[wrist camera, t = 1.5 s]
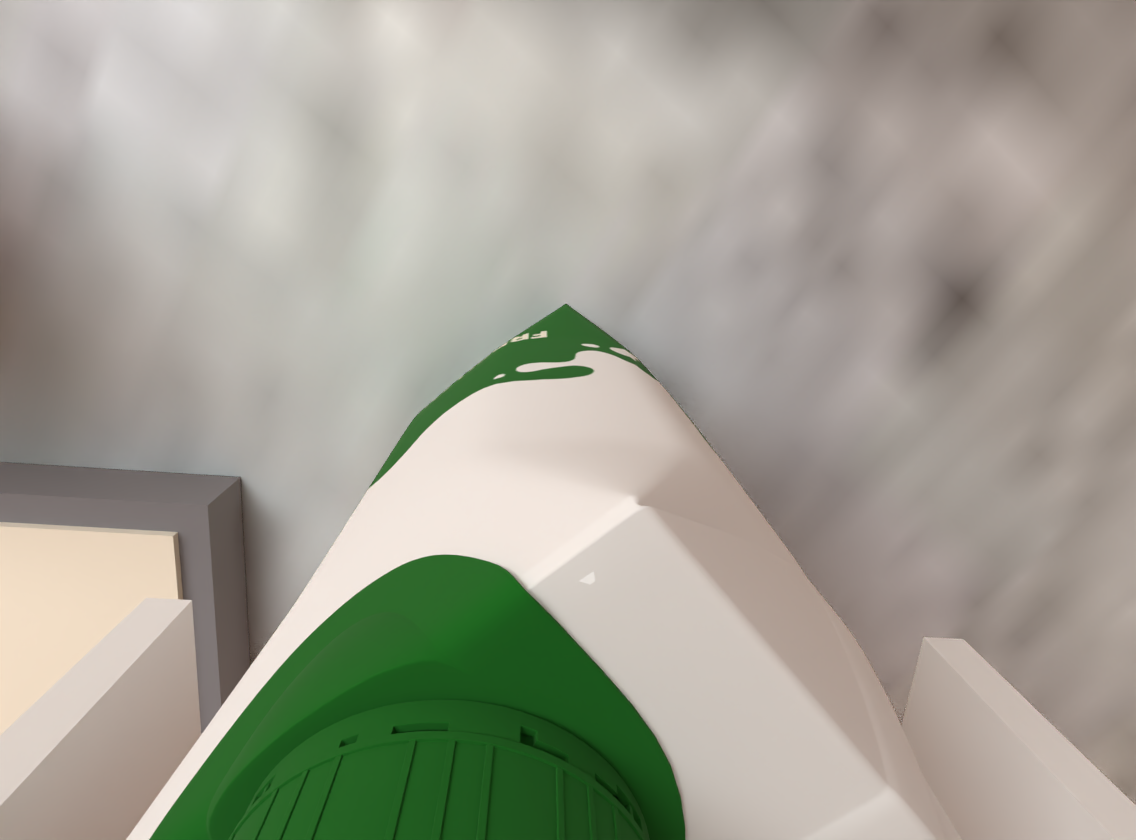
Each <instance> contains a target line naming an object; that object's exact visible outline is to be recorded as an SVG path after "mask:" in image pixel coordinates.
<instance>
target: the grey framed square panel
mask: <svg viewBox="0 0 1136 840" xmlns="http://www.w3.org/2000/svg"><path fill="white" fill-rule="evenodd" d="M145 598H161V599H181V600H192V607H193V622H194V636H195V651H196V665H197V680H198V694H199V709H200V723H201V734H202V733H203V732H204V730H205V729H206V727H207V726H208V725H209V723H210V722H211V720H212V719H213V718H214V716H215V715H216V713H217V712H218V711H219V709H220V708H221V706H222V705H223V704H224V702H225V701H226V699H227V698H228V697H229V695H230V694H231V693H232V691H233V690H234V688H235V687H236V686H237V684H238V683H239V681H240V680H241V679H242V677H243V676H244V674H245V673H246V672H247V670H248V669H249V667H250V653H249V634H248V615H247V596H246V577H245V558H244V539H243V520H242V502H241V483H240V477H230V476H214V475H198V474H182V473H166V472H150V471H134V470H118V469H101V468H85V467H69V466H53V465H37V464H21V463H5V462H0V735H1V734H2V733H3V732H4V731H5V730H6V729H8V728H9V727H10V726H11V725H12V724H13V723H14V722H15V721H16V720H17V719H18V718H19V717H20V716H21V715H22V714H23V713H24V712H26V711H27V710H28V709H29V708H30V707H31V706H32V705H33V704H34V703H35V702H36V701H37V700H38V699H39V698H40V697H41V696H43V695H44V694H45V693H46V692H47V691H48V690H49V689H50V688H51V687H52V686H53V685H54V684H55V683H56V682H57V681H58V680H60V679H61V678H62V677H63V676H64V675H65V674H66V673H67V672H68V671H69V670H70V669H71V668H72V667H73V666H74V665H75V664H76V663H78V662H79V661H80V660H81V659H82V658H83V657H84V656H85V655H86V654H87V653H88V652H89V651H90V650H91V649H92V648H93V647H95V646H96V645H97V644H98V643H99V642H100V641H101V640H102V639H103V638H104V637H105V636H106V635H107V634H108V633H109V632H110V631H111V630H113V629H114V628H115V627H116V626H117V625H118V624H119V623H120V622H121V621H122V620H123V619H124V618H125V617H126V616H127V615H128V614H130V613H131V612H132V611H133V610H134V609H135V608H136V607H137V606H138V605H139V604H140V603H141V602H142V601H143V600H144V599H145ZM200 736H201V735H200ZM198 739H199V738H198Z"/></svg>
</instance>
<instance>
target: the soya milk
mask: <svg viewBox="0 0 1136 840" xmlns="http://www.w3.org/2000/svg"><path fill="white" fill-rule="evenodd" d="M126 840H962V839H961V837H960V836H959V834H958V833H957V831H956V829H955V828H954V826H953V824H952V823H951V821H950V819H949V818H948V816H947V814H946V813H945V811H944V809H943V808H942V806H941V804H940V803H939V801H938V799H937V798H936V796H935V794H934V793H933V791H932V789H931V787H930V786H929V784H928V782H927V780H926V779H925V777H924V775H923V774H922V772H921V770H920V767H919V764H918V762H917V759H916V757H915V755H914V752H913V750H912V748H911V746H910V744H909V741H908V739H907V737H906V735H905V732H904V730H903V728H902V726H901V724H900V721H899V719H898V717H897V715H896V713H895V711H894V709H893V707H892V705H891V703H890V701H889V699H888V697H887V695H886V693H885V691H884V689H883V687H882V685H881V683H880V681H879V679H878V677H877V675H876V674H875V672H874V670H873V668H872V666H871V665H870V663H869V661H868V659H867V657H866V656H865V654H864V652H863V650H862V649H861V647H860V646H859V644H858V643H857V641H856V640H855V638H854V637H853V635H852V634H851V632H850V631H849V629H848V628H847V627H846V625H845V624H844V623H843V622H842V620H841V619H840V618H839V617H838V615H837V614H836V613H835V611H834V610H833V609H832V608H831V606H830V605H829V604H828V603H827V602H826V600H825V599H824V598H823V597H822V595H821V594H820V593H819V592H818V590H817V589H816V588H815V587H814V586H813V584H812V583H811V582H810V581H809V580H808V578H807V577H806V575H805V574H804V572H803V571H802V569H801V568H800V566H799V565H798V563H797V562H796V560H795V559H794V557H793V556H792V554H791V553H790V552H789V550H788V549H787V548H786V546H785V545H784V544H783V542H782V541H781V539H780V538H779V537H778V535H777V534H776V533H775V531H774V530H773V529H772V527H771V526H770V525H769V523H768V522H767V521H766V519H765V518H764V517H763V515H762V514H761V513H760V511H759V510H758V509H757V507H756V506H755V505H754V503H753V502H752V501H751V499H750V498H749V496H748V495H747V494H746V492H745V491H744V490H743V488H742V487H741V486H740V484H739V483H738V482H737V480H736V479H735V478H734V476H733V475H732V474H731V472H730V471H729V470H728V468H727V467H726V466H725V464H724V463H723V462H722V460H721V459H720V458H719V456H718V455H717V454H716V452H715V451H714V450H713V448H712V447H711V446H710V444H709V443H708V442H707V440H706V439H705V438H704V436H703V435H702V434H701V432H700V431H699V430H698V429H697V427H696V426H695V425H694V423H693V422H692V421H691V420H690V418H689V417H688V416H687V415H686V414H685V412H684V411H683V410H682V409H681V407H680V406H679V405H678V404H677V402H676V401H675V400H674V399H673V398H672V396H671V395H670V394H669V393H668V392H667V391H666V390H665V388H664V387H663V386H662V385H661V384H660V383H659V382H658V381H657V380H656V378H655V377H654V376H653V375H652V374H651V373H650V372H649V371H648V370H647V368H646V367H645V366H644V365H643V364H642V363H641V362H640V361H639V360H638V359H637V358H636V357H635V356H634V355H633V354H632V353H631V352H630V351H628V350H627V349H626V348H625V347H623V346H622V345H621V344H620V343H618V342H617V341H616V340H615V339H613V338H612V337H611V336H610V335H608V334H607V333H605V332H604V331H603V330H601V329H600V328H599V327H597V326H596V325H594V324H593V323H592V322H590V321H589V320H588V319H586V318H585V317H583V316H582V315H581V314H579V313H578V312H576V311H575V310H574V309H572V308H571V307H570V306H569V305H567V304H565V305H563V306H562V307H560V308H559V309H557V310H556V311H554V312H553V313H551V314H550V315H548V316H546V317H545V318H543V319H542V320H540V321H539V322H537V323H536V324H534V325H532V326H531V327H529V328H528V329H526V330H525V331H523V332H522V333H520V334H519V335H517V336H515V337H514V338H512V339H511V340H509V341H508V342H506V343H505V344H504V345H502V346H501V347H499V348H498V349H496V350H495V351H493V352H492V353H491V354H490V355H488V356H487V357H486V358H485V359H483V360H482V361H481V362H480V363H478V364H477V365H476V366H474V367H473V368H472V369H471V370H469V371H468V372H467V373H466V374H464V375H463V376H462V377H461V378H459V379H458V380H457V381H456V382H455V383H453V384H452V385H451V386H450V387H449V388H447V389H446V390H445V391H444V392H443V393H442V394H440V395H439V396H438V397H437V398H436V399H435V400H433V401H432V402H431V403H430V404H429V405H428V406H426V407H425V408H424V409H423V410H422V411H421V412H420V413H419V414H418V415H417V416H416V417H415V418H414V419H413V421H412V422H411V423H410V425H409V426H408V428H407V429H406V431H405V432H404V434H403V435H402V437H401V438H400V440H399V441H398V443H397V445H396V446H395V448H394V449H393V451H392V452H391V454H390V456H389V457H388V459H387V460H386V462H385V463H384V465H383V467H382V468H381V470H380V471H379V473H378V474H377V476H376V478H375V479H374V481H373V482H372V484H371V485H370V487H369V489H368V490H367V492H366V493H365V495H364V496H363V498H362V500H361V501H360V503H359V504H358V506H357V507H356V509H355V511H354V512H353V514H352V515H351V517H350V518H349V520H348V522H347V523H346V525H345V526H344V528H343V529H342V531H341V533H340V534H339V536H338V537H337V539H336V540H335V542H334V544H333V545H332V547H331V548H330V550H329V551H328V553H327V555H326V556H325V558H324V559H323V561H322V562H321V564H320V566H319V567H318V569H317V570H316V572H315V574H314V575H313V577H312V578H311V580H310V581H309V583H308V584H307V586H306V587H305V589H304V590H303V592H302V593H301V595H300V596H299V598H298V599H297V601H296V603H295V604H294V606H293V607H292V608H291V610H290V611H289V613H288V614H287V615H286V617H285V618H284V620H283V621H282V622H281V624H280V625H279V627H278V628H277V630H276V631H275V632H274V634H273V635H272V637H271V638H270V639H269V641H268V642H267V644H266V645H265V646H264V648H263V649H262V651H261V652H260V653H259V655H258V656H257V658H256V659H255V660H254V662H253V663H252V665H251V666H250V667H249V669H248V670H247V672H246V673H245V674H244V676H243V677H242V679H241V680H240V681H239V683H238V684H237V686H236V687H235V688H234V690H233V691H232V693H231V694H230V695H229V697H228V698H227V699H226V701H225V702H224V704H223V705H222V706H221V708H220V709H219V711H218V712H217V713H216V715H215V716H214V718H213V719H212V720H211V722H210V723H209V725H208V726H207V727H206V729H205V730H204V732H203V733H202V734H201V736H200V737H199V739H198V740H197V741H196V743H195V744H194V746H193V747H192V748H191V750H190V751H189V753H188V754H187V755H186V757H185V758H184V759H183V761H182V762H181V764H180V765H179V766H178V768H177V769H176V771H175V772H174V773H173V775H172V776H171V778H170V779H169V780H168V782H167V783H166V785H165V786H164V787H163V789H162V790H161V792H160V793H159V794H158V796H157V797H156V799H155V800H154V801H153V803H152V804H151V805H150V807H149V808H148V810H147V811H146V812H145V814H144V815H143V817H142V818H141V819H140V821H139V822H138V824H137V825H136V826H135V828H134V829H133V831H132V832H131V833H130V835H129V836H128V838H127V839H126Z"/></svg>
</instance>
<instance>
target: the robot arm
mask: <svg viewBox="0 0 1136 840" xmlns="http://www.w3.org/2000/svg"><path fill="white" fill-rule="evenodd" d="M901 726H902V728H903V730H904V732H905V735H906V737H907V739H908V741H909V744H910V746H911V748H912V750H913V752H914V755H915V757H916V759H917V762H918V764H919V767H920V770H921V772H922V774H923V775H924V777H925V779H926V780H927V782H928V784H929V786H930V787H931V789H932V791H933V793H934V794H935V796H936V798H937V799H938V801H939V803H940V804H941V806H942V808H943V809H944V811H945V813H946V814H947V816H948V818H949V819H950V821H951V823H952V824H953V826H954V828H955V829H956V831H957V833H958V834H959V836H960V837H961V839H962V840H1136V805H1135V804H1134V803H1133V802H1132V801H1131V800H1130V799H1128V798H1127V797H1126V796H1125V795H1124V794H1123V793H1122V792H1121V791H1120V790H1119V789H1118V788H1117V787H1116V786H1115V785H1114V784H1113V783H1112V782H1111V781H1110V780H1109V779H1108V778H1107V777H1106V776H1105V775H1104V774H1103V773H1102V772H1100V771H1099V770H1098V769H1097V768H1096V767H1095V766H1094V765H1093V764H1092V763H1091V762H1090V761H1089V760H1088V759H1087V758H1086V757H1085V756H1084V755H1083V754H1082V753H1081V752H1080V751H1079V750H1078V749H1077V748H1076V747H1075V746H1074V745H1073V744H1071V743H1070V742H1069V741H1068V740H1067V739H1066V738H1065V737H1064V736H1063V735H1062V734H1061V733H1060V732H1059V731H1058V730H1057V729H1056V728H1055V727H1054V726H1053V725H1052V724H1051V723H1050V722H1049V721H1048V720H1047V719H1046V718H1045V717H1044V716H1042V715H1041V714H1040V713H1039V712H1038V711H1037V710H1036V709H1035V708H1034V707H1033V706H1032V705H1031V704H1030V703H1029V702H1028V701H1027V700H1026V699H1025V698H1024V697H1023V696H1022V695H1021V694H1020V693H1019V692H1018V691H1017V690H1016V689H1015V688H1013V687H1012V686H1011V685H1010V684H1009V683H1008V682H1007V681H1006V680H1005V679H1004V678H1003V677H1002V676H1001V675H1000V674H999V673H998V672H997V671H996V670H995V669H994V668H993V667H992V666H991V665H990V664H989V663H988V662H987V661H986V660H984V659H983V658H982V657H981V656H980V655H979V654H978V653H977V652H976V651H975V650H974V649H973V648H972V647H971V646H970V645H969V644H968V643H967V642H966V641H965V640H964V639H955V638H935V637H923V640H922V645H921V649H920V653H919V657H918V661H917V665H916V669H915V673H914V677H913V681H912V685H911V689H910V693H909V697H908V701H907V705H906V709H905V713H904V717H903V721H902V725H901ZM200 735H201V723H200V709H199V694H198V680H197V665H196V651H195V636H194V622H193V607H192V600H181V599H161V598H145V599H144V600H143V601H142V602H141V603H140V604H139V605H138V606H137V607H136V608H135V609H134V610H133V611H132V612H131V613H130V614H128V615H127V616H126V617H125V618H124V619H123V620H122V621H121V622H120V623H119V624H118V625H117V626H116V627H115V628H114V629H113V630H111V631H110V632H109V633H108V634H107V635H106V636H105V637H104V638H103V639H102V640H101V641H100V642H99V643H98V644H97V645H96V646H95V647H93V648H92V649H91V650H90V651H89V652H88V653H87V654H86V655H85V656H84V657H83V658H82V659H81V660H80V661H79V662H78V663H76V664H75V665H74V666H73V667H72V668H71V669H70V670H69V671H68V672H67V673H66V674H65V675H64V676H63V677H62V678H61V679H60V680H58V681H57V682H56V683H55V684H54V685H53V686H52V687H51V688H50V689H49V690H48V691H47V692H46V693H45V694H44V695H43V696H41V697H40V698H39V699H38V700H37V701H36V702H35V703H34V704H33V705H32V706H31V707H30V708H29V709H28V710H27V711H26V712H24V713H23V714H22V715H21V716H20V717H19V718H18V719H17V720H16V721H15V722H14V723H13V724H12V725H11V726H10V727H9V728H8V729H6V730H5V731H4V732H3V733H2V734H1V735H0V840H126V839H127V838H128V836H129V835H130V833H131V832H132V831H133V829H134V828H135V826H136V825H137V824H138V822H139V821H140V819H141V818H142V817H143V815H144V814H145V812H146V811H147V810H148V808H149V807H150V805H151V804H152V803H153V801H154V800H155V799H156V797H157V796H158V794H159V793H160V792H161V790H162V789H163V787H164V786H165V785H166V783H167V782H168V780H169V779H170V778H171V776H172V775H173V773H174V772H175V771H176V769H177V768H178V766H179V765H180V764H181V762H182V761H183V759H184V758H185V757H186V755H187V754H188V753H189V751H190V750H191V748H192V747H193V746H194V744H195V743H196V741H197V740H198V738H199V737H200Z"/></svg>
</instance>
